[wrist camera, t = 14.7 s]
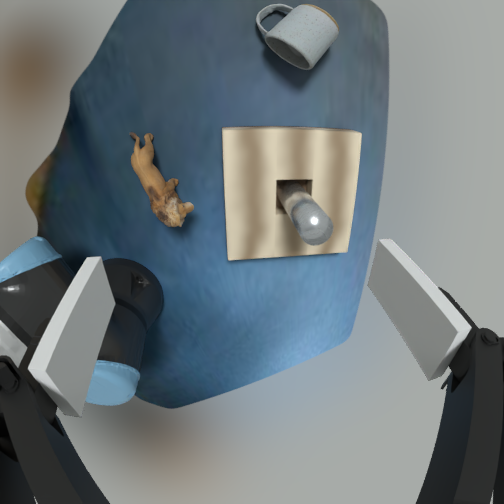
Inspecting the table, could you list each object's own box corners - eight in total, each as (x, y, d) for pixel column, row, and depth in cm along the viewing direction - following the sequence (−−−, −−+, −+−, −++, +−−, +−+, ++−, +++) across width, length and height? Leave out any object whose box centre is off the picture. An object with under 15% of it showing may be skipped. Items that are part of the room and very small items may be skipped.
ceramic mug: (331, 37, 34) (352, 28, 27) (301, 73, 37) (317, 68, 30) (275, -4, 30) (286, -21, 23) (242, 32, 33) (247, 19, 26)
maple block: (226, 247, 50) (228, 260, 46) (221, 127, 40) (222, 130, 36) (338, 241, 52) (347, 252, 48) (350, 129, 42) (361, 133, 38)
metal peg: (275, 203, 46) (299, 246, 34) (276, 179, 44) (301, 214, 32) (300, 202, 46) (331, 244, 34) (301, 178, 44) (335, 213, 32)
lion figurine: (200, 196, 45) (197, 219, 37) (173, 214, 46) (165, 241, 38) (144, 121, 38) (127, 128, 30) (117, 143, 39) (95, 155, 31)
